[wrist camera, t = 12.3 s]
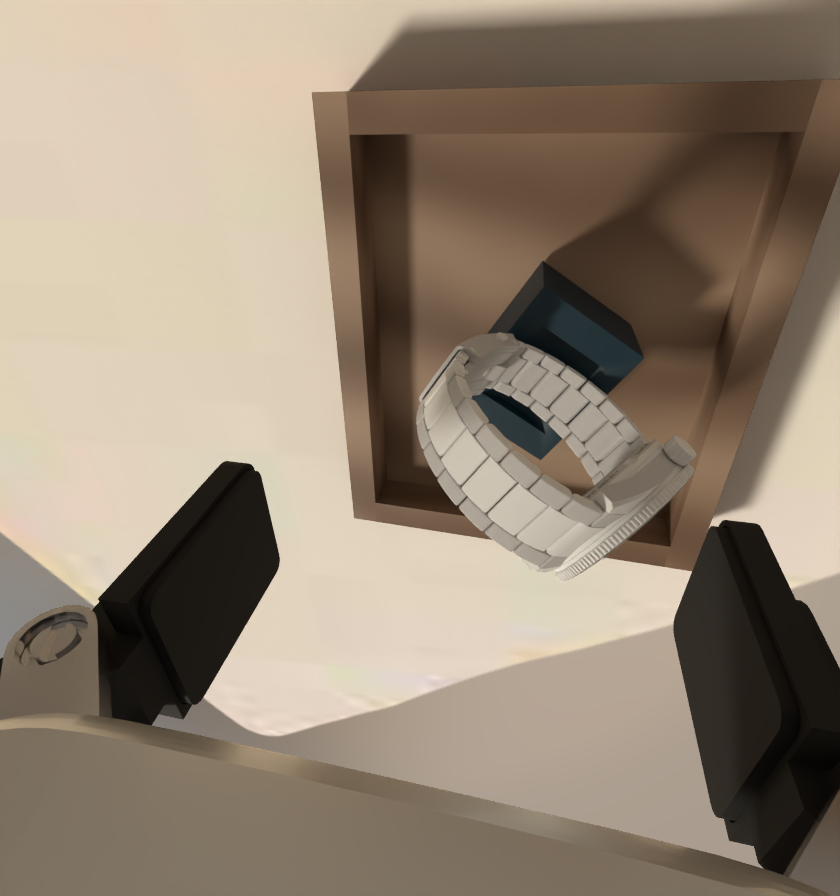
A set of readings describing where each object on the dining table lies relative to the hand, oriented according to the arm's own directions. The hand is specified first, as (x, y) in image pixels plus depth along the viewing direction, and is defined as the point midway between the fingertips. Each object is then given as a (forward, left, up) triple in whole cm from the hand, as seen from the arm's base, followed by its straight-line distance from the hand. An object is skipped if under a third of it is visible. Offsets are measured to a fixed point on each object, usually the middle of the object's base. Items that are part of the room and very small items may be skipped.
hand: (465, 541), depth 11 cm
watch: (0, +1, -13) cm, 13 cm away
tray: (+1, +1, -14) cm, 14 cm away
